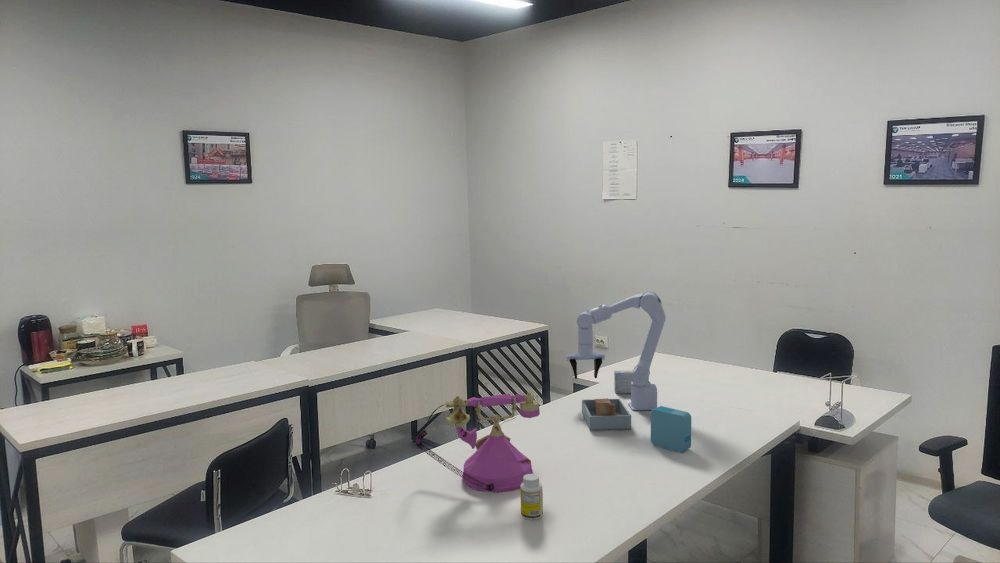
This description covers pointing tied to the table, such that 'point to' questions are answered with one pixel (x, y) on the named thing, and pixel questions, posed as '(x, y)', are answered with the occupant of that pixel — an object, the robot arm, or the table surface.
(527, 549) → the table surface
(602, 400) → the terracotta cube
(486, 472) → the telephone
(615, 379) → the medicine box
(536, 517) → the supplement bottle
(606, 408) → the walnut cylinder
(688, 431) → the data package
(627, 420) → the tote
